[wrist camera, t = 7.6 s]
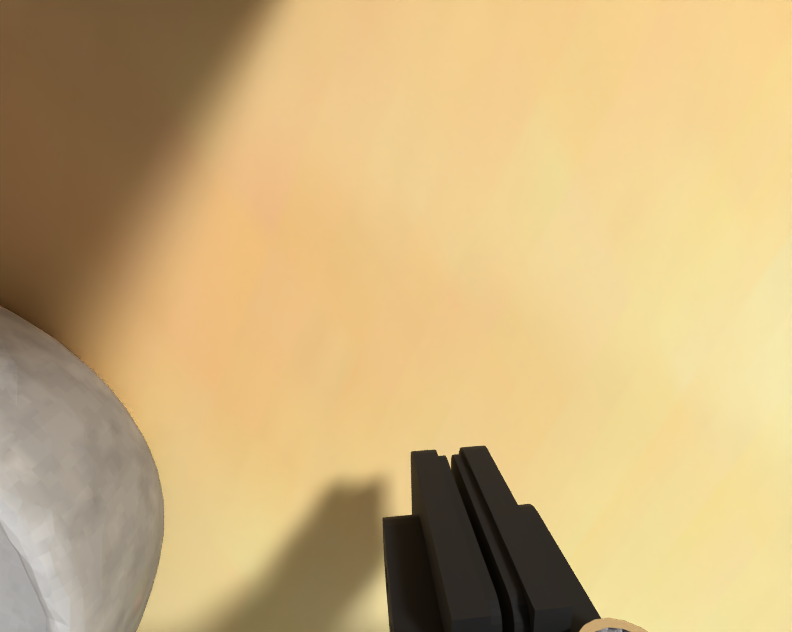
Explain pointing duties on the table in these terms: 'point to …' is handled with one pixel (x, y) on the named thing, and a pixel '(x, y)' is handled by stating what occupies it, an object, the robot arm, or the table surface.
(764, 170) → the table surface
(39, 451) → the dish
